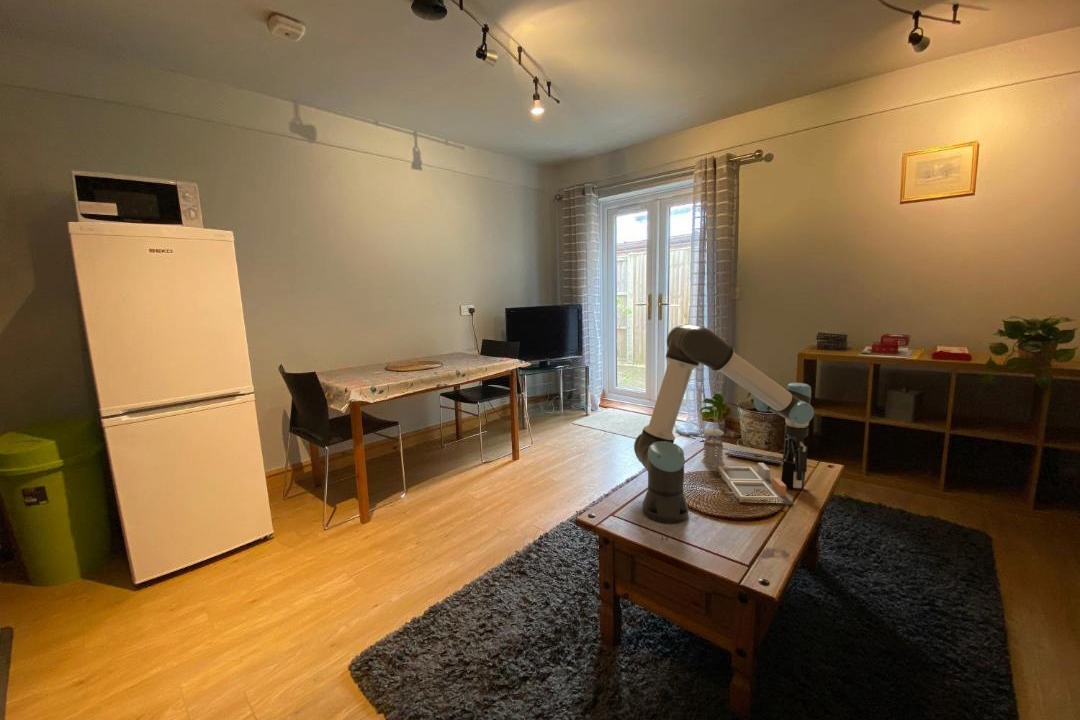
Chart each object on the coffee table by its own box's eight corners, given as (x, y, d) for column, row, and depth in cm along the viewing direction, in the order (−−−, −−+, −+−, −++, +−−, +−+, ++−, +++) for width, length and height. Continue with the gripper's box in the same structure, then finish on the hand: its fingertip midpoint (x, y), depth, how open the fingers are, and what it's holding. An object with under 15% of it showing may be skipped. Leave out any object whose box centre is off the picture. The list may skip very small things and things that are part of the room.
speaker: (795, 492, 159) (797, 465, 159) (780, 487, 164) (782, 460, 164) (807, 490, 163) (809, 463, 162) (792, 485, 168) (794, 458, 167)
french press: (720, 458, 194) (723, 403, 190) (729, 468, 183) (731, 411, 179) (698, 457, 195) (699, 404, 191) (705, 468, 184) (707, 411, 180)
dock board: (739, 503, 154) (739, 489, 153) (716, 470, 181) (716, 458, 180) (793, 504, 152) (794, 490, 151) (761, 471, 179) (762, 459, 178)
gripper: (821, 433, 151) (816, 495, 155) (795, 417, 170) (791, 473, 173) (798, 433, 152) (794, 494, 155) (775, 417, 171) (772, 472, 174)
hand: (792, 483), depth 164 cm, fingers closed on speaker, 6 cm apart
